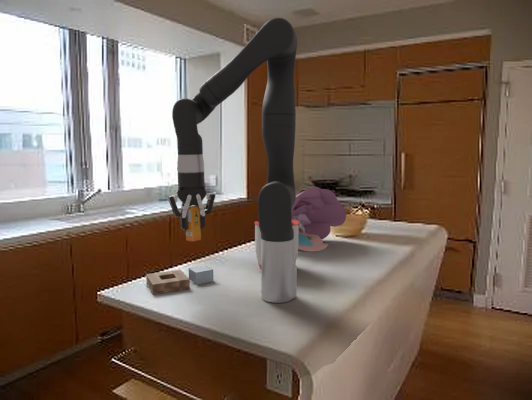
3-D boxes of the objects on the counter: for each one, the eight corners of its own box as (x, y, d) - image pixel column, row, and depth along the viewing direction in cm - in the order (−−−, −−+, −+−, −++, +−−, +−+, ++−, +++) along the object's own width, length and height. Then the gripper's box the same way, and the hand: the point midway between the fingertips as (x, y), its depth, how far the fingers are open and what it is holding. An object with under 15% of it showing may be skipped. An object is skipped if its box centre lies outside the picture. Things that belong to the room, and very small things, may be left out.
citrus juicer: (273, 259, 155) (272, 208, 152) (308, 269, 142) (308, 213, 140) (242, 268, 144) (241, 212, 141) (277, 279, 131) (277, 218, 129)
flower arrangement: (303, 269, 159) (313, 201, 150) (256, 249, 172) (262, 186, 163) (342, 243, 187) (352, 185, 178) (299, 228, 199) (306, 172, 190)
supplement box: (193, 238, 121) (192, 205, 119) (201, 239, 119) (200, 206, 117) (185, 240, 118) (183, 206, 117) (192, 242, 116) (191, 207, 115)
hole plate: (181, 278, 133) (180, 269, 133) (189, 288, 123) (189, 279, 123) (146, 283, 128) (146, 274, 128) (153, 294, 119) (152, 284, 118)
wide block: (205, 276, 136) (205, 265, 135) (213, 281, 131) (213, 269, 130) (188, 279, 132) (188, 267, 132) (196, 284, 127) (195, 272, 127)
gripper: (168, 172, 109) (171, 234, 112) (218, 170, 116) (220, 229, 118) (163, 170, 116) (165, 229, 118) (210, 169, 122) (212, 225, 124)
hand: (193, 229), depth 118 cm, fingers closed on supplement box, 4 cm apart
